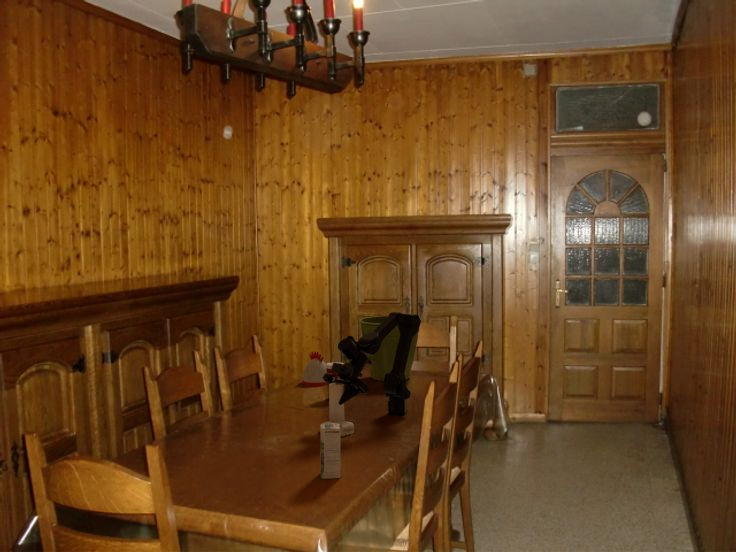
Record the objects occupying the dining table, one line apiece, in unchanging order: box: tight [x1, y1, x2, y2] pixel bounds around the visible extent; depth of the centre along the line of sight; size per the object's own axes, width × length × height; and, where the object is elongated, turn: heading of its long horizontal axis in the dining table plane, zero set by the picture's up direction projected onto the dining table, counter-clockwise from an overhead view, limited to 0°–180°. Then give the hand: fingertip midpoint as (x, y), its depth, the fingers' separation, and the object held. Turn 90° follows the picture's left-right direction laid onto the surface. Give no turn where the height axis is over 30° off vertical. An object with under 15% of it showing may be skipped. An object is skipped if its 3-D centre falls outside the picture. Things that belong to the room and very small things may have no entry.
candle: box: [328, 381, 345, 423], centre depth 240 cm, size 5×5×14 cm
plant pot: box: [358, 315, 422, 382], centre depth 329 cm, size 30×30×29 cm
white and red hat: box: [301, 351, 328, 387], centre depth 321 cm, size 14×14×15 cm
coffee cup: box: [325, 361, 344, 396], centre depth 289 cm, size 8×8×15 cm
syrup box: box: [319, 423, 342, 480], centre depth 196 cm, size 6×6×14 cm
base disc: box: [319, 420, 355, 437], centre depth 240 cm, size 12×12×2 cm
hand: (333, 403), depth 239 cm, fingers closed on candle, 5 cm apart
